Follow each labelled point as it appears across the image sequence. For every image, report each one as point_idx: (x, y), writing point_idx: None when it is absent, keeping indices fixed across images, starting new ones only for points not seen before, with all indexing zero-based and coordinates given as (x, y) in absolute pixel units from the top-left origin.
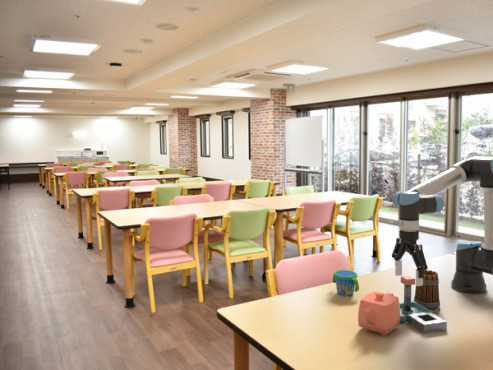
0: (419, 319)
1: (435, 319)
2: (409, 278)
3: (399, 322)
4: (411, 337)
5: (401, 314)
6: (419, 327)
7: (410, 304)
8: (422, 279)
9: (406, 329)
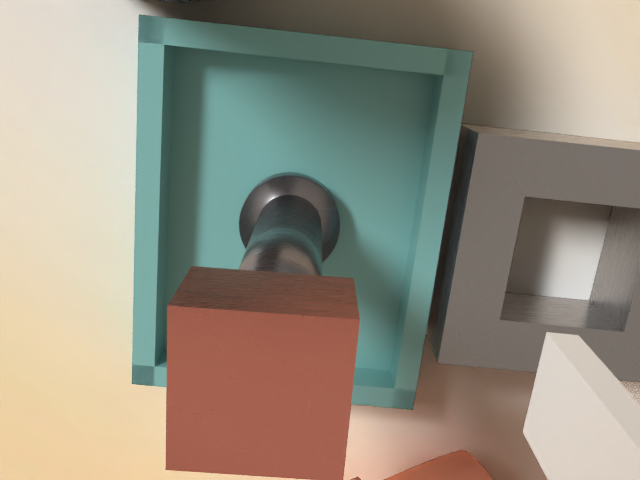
0: None
1: (625, 205)
2: (318, 412)
3: (476, 460)
4: None
5: None
6: None
7: (320, 236)
8: (625, 399)
9: (509, 407)
